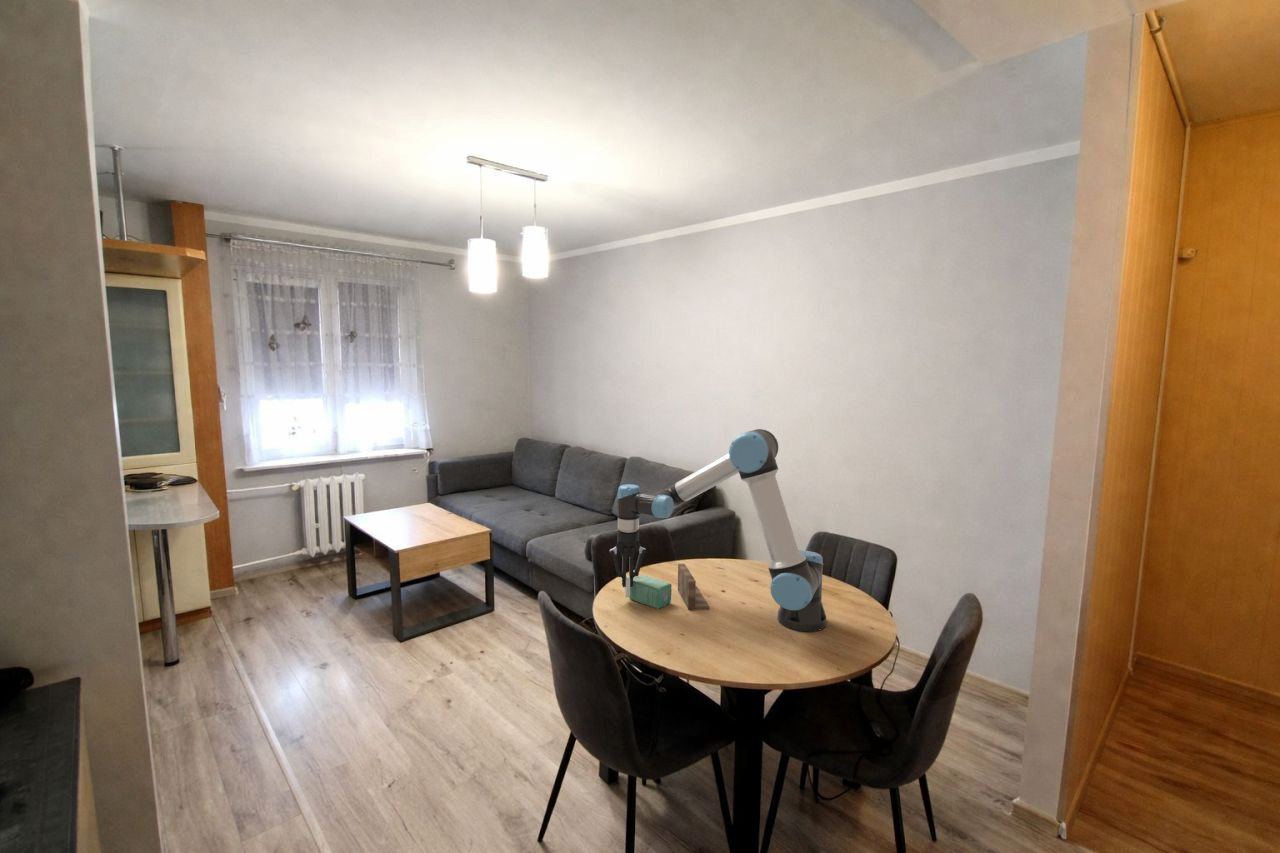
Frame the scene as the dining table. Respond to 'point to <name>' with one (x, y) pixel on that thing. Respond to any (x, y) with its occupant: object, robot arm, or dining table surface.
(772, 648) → the dining table surface
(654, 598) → the box
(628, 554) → the robot arm
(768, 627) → the dining table surface
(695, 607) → the walnut angle bracket
